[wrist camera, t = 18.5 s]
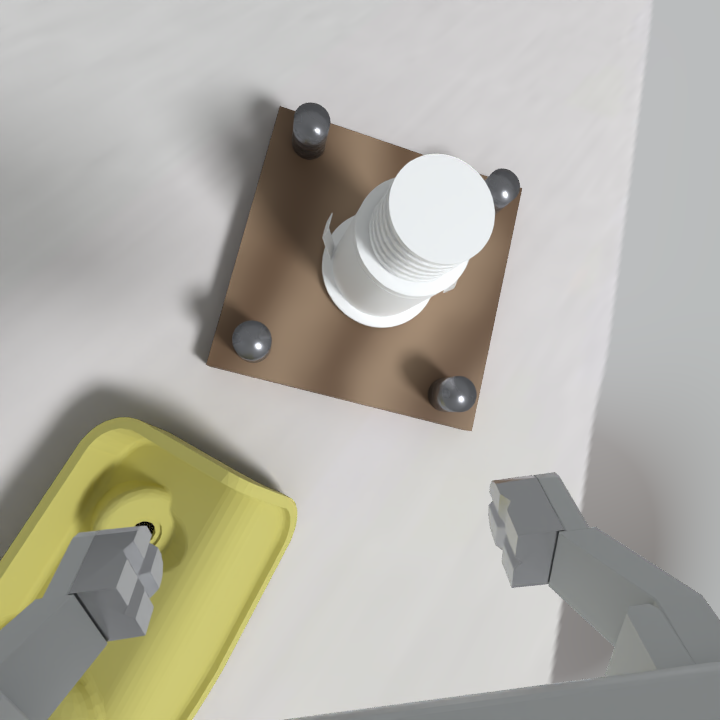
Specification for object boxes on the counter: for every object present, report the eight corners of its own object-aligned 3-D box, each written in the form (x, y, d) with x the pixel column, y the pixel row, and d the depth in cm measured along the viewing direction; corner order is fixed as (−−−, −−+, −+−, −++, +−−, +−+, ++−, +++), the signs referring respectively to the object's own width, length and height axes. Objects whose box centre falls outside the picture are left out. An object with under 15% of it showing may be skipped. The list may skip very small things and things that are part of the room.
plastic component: (106, 401, 25) (263, 491, 22) (181, 432, 32) (309, 505, 29) (-172, 817, 20) (-23, 1009, 17) (-16, 750, 27) (112, 879, 24)
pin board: (208, 366, 28) (200, 360, 25) (279, 117, 30) (281, 79, 27) (463, 430, 31) (489, 433, 27) (513, 196, 33) (543, 170, 29)
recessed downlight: (299, 306, 28) (326, 258, 19) (330, 195, 29) (372, 94, 20) (425, 344, 30) (511, 318, 20) (451, 238, 31) (545, 164, 21)
